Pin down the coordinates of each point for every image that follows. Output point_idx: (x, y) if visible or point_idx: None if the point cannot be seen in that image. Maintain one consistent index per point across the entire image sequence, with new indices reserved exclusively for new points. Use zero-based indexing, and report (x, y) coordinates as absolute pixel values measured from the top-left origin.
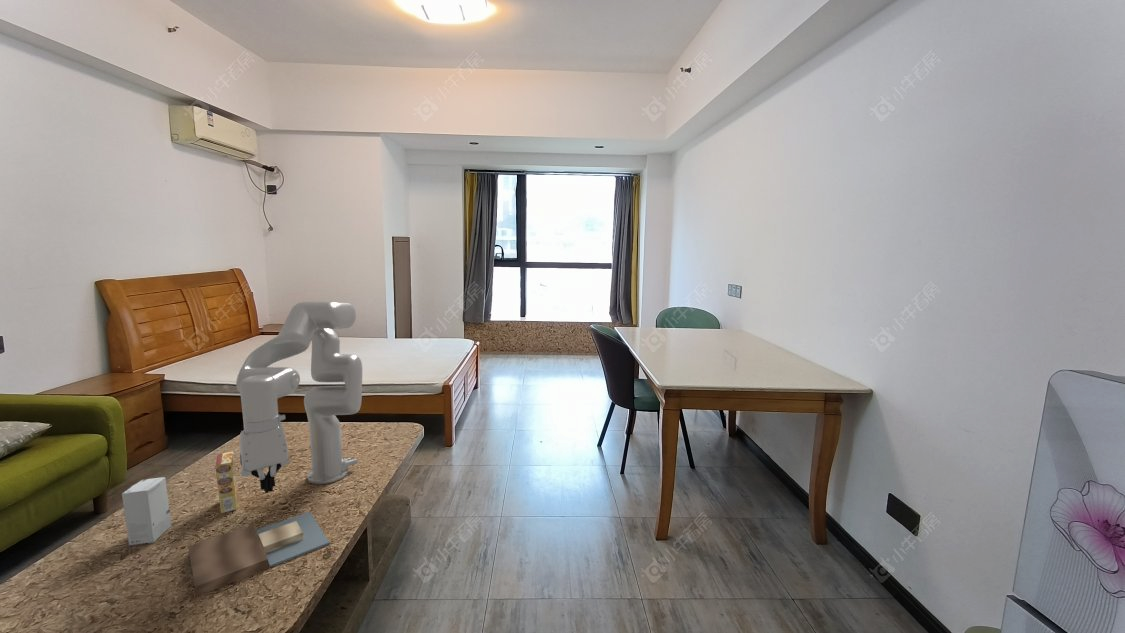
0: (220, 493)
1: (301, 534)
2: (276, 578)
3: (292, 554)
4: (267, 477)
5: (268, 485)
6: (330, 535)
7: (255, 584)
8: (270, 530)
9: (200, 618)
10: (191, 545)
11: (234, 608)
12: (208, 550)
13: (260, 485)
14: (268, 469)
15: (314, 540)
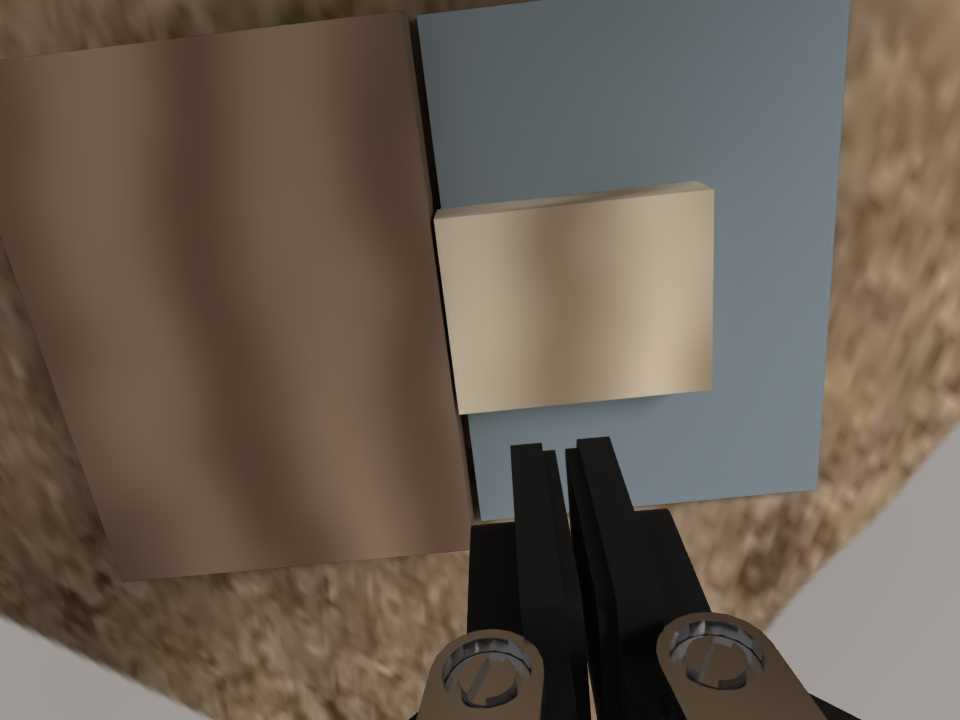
0: None
1: (698, 387)
2: None
3: None
4: (601, 693)
5: (582, 598)
6: (849, 391)
7: (408, 601)
8: (519, 219)
9: (199, 690)
10: None
11: (325, 703)
12: (112, 237)
13: (471, 554)
14: (678, 711)
15: (749, 422)
